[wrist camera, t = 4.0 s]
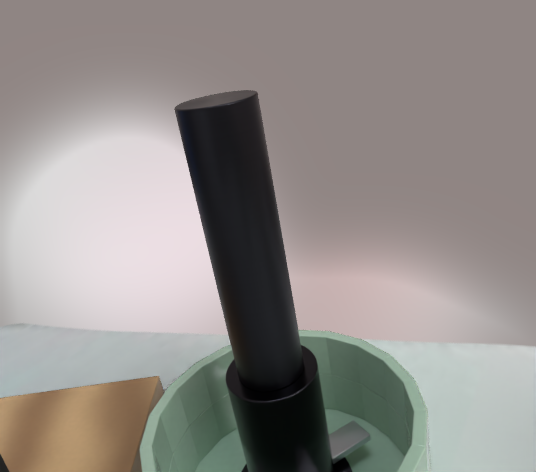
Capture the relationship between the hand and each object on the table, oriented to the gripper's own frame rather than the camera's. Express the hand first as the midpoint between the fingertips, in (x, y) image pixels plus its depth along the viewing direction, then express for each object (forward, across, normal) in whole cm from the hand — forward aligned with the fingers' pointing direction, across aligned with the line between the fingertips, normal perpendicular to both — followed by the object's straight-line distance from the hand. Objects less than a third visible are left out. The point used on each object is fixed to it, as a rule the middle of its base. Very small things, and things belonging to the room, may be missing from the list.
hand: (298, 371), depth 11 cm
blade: (+10, 0, -15) cm, 18 cm away
